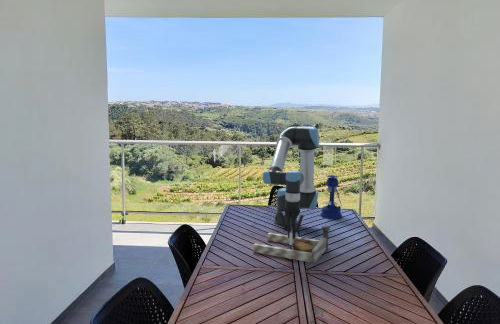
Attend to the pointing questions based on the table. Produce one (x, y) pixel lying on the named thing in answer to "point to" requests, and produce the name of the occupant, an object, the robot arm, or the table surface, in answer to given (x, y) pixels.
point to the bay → (294, 254)
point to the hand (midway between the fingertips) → (291, 244)
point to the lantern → (332, 200)
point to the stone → (302, 245)
